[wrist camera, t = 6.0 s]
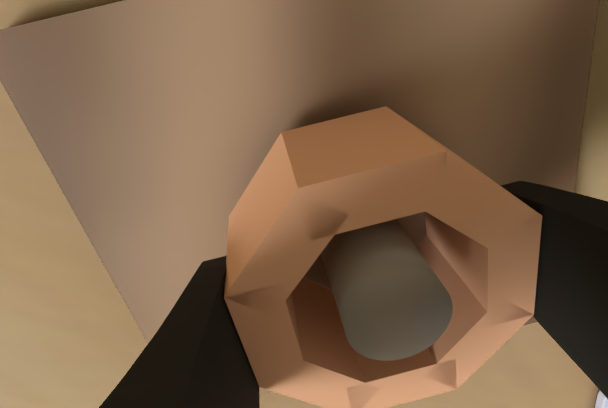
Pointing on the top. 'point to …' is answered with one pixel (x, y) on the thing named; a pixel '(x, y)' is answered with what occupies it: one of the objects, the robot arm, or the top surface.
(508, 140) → the peg plate
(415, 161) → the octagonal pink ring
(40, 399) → the top surface
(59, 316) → the top surface
